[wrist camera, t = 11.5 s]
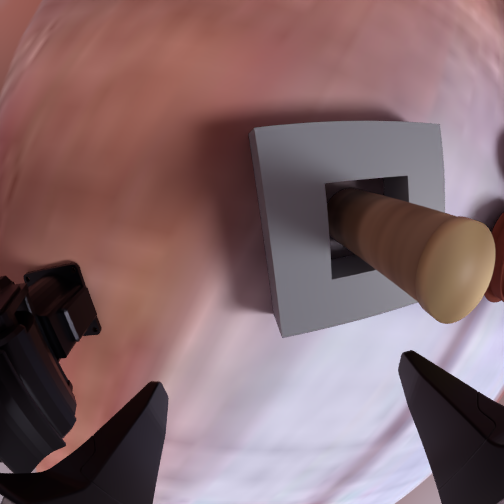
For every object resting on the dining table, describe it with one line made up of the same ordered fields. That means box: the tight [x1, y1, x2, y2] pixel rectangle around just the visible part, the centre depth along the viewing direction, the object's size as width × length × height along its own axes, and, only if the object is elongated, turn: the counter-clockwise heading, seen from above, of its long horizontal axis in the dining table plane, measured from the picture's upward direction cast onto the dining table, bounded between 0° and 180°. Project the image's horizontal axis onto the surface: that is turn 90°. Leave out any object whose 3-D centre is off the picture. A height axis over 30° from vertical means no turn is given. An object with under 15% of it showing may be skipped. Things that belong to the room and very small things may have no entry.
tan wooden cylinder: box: [327, 188, 495, 324], centre depth 15 cm, size 5×5×12 cm
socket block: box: [249, 121, 445, 338], centre depth 20 cm, size 14×14×4 cm
